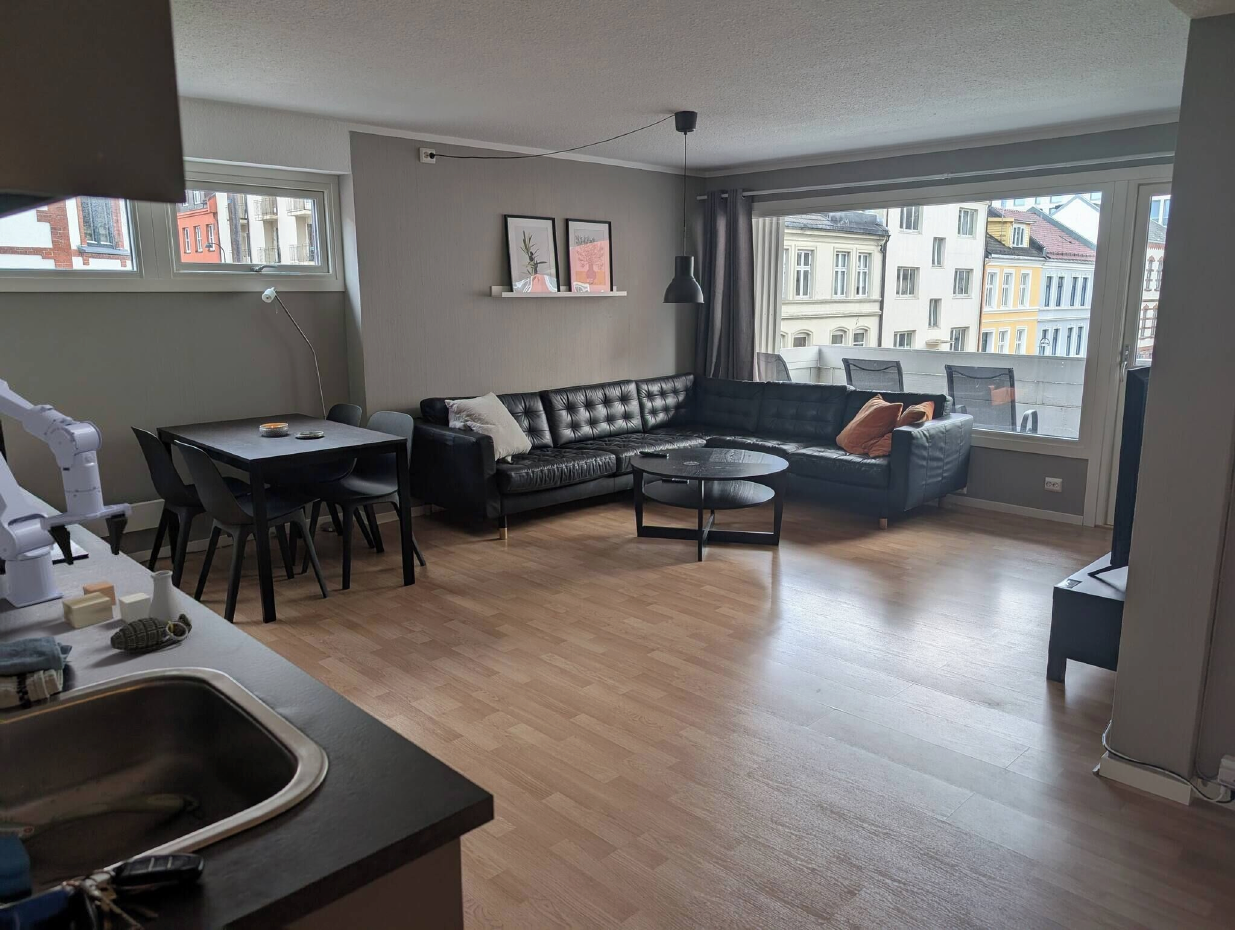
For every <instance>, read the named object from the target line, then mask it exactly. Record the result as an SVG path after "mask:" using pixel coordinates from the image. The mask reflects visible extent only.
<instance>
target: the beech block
mask: <svg viewBox="0 0 1235 930" xmlns="http://www.w3.org/2000/svg"><path fill="white" fill-rule="evenodd" d="M61 603H62V610H63V616H64V621H65V622H66V623H68V624H70V626H72V627H73V628H75V629H76V630H77V629H81V628H84V627H88V626H89V627H90V626H93V625H95V624H100V623H102V622H103V623H104V622H106V621H110V620H114V613H113V606H112V605H111V599H110V598H108V597H106V596H105V595H103V594H101V593H100V592H96V593H92V594H88V595H84V594H83V595H81V596H76V597H73V598H69V599H65V600H62V601H61Z"/></svg>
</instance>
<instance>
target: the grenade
mask: <svg viewBox="0 0 1235 930" xmlns="http://www.w3.org/2000/svg"><path fill="white" fill-rule="evenodd" d="M192 629H193V625H192V622H190V621H189V619H188V618H187V616H186V615H185V614H180V616H179V618H178V620H177V621H171V622H169V621H164V620H158V618H155V617H149V618H143V619H138V620H137V621H133V622H131V623H127V624H125V625H123V626H122V627H120V628H119V630H117V631H116V632H115V633H114V634H112V635H111V637H110V645H111V647H112V649H114V650H118V651H124V652H128V654H127V656H128V657H129V656H133V655H138V654H145V653H149V652H150V653H151V652H153V651H156V649H157V650H159V648H160V649H162V648H165V647H168V646H170V645H173V644H175V643H177V642H179V641H182V640H184V639H185V638H187V636H188V635H189V634H190V633H191V631H192ZM167 637H169V639H171V640H170V641H168V642H165V643H163V642H164V641H165V639H166V638H167ZM178 640H179V641H178ZM174 642H175V643H174ZM172 643H173V644H172Z"/></svg>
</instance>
